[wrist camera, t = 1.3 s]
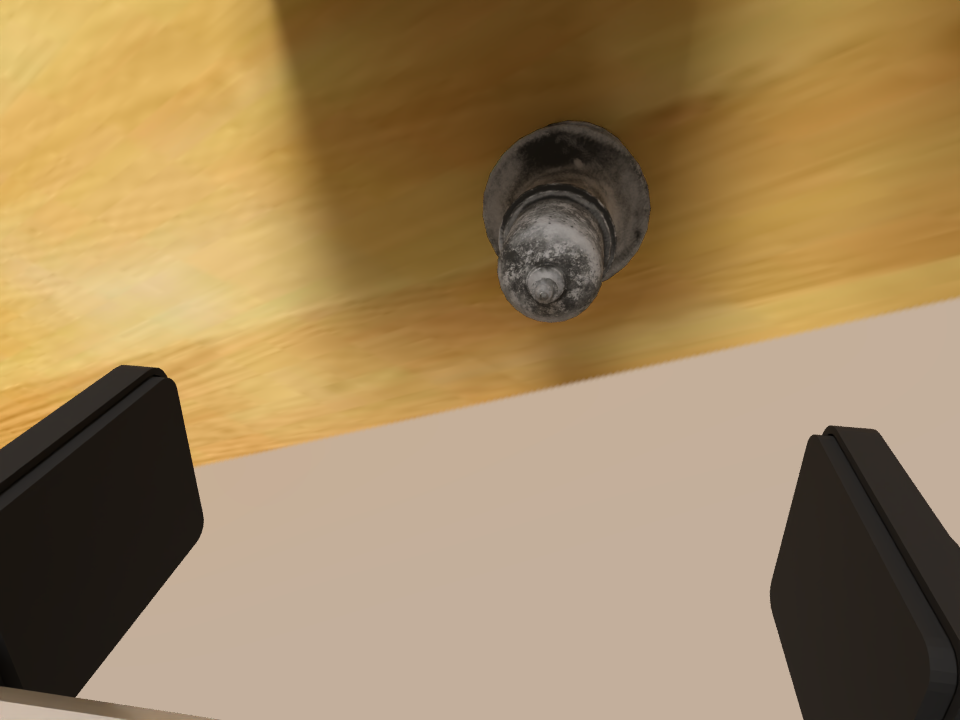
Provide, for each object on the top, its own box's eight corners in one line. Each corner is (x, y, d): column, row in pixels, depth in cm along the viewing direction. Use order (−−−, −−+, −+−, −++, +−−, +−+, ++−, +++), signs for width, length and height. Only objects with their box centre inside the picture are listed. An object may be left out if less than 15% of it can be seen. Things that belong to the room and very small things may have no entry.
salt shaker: (573, 288, 29) (550, 441, 19) (467, 195, 28) (380, 299, 18) (678, 184, 27) (721, 292, 16) (567, 77, 26) (534, 117, 15)
